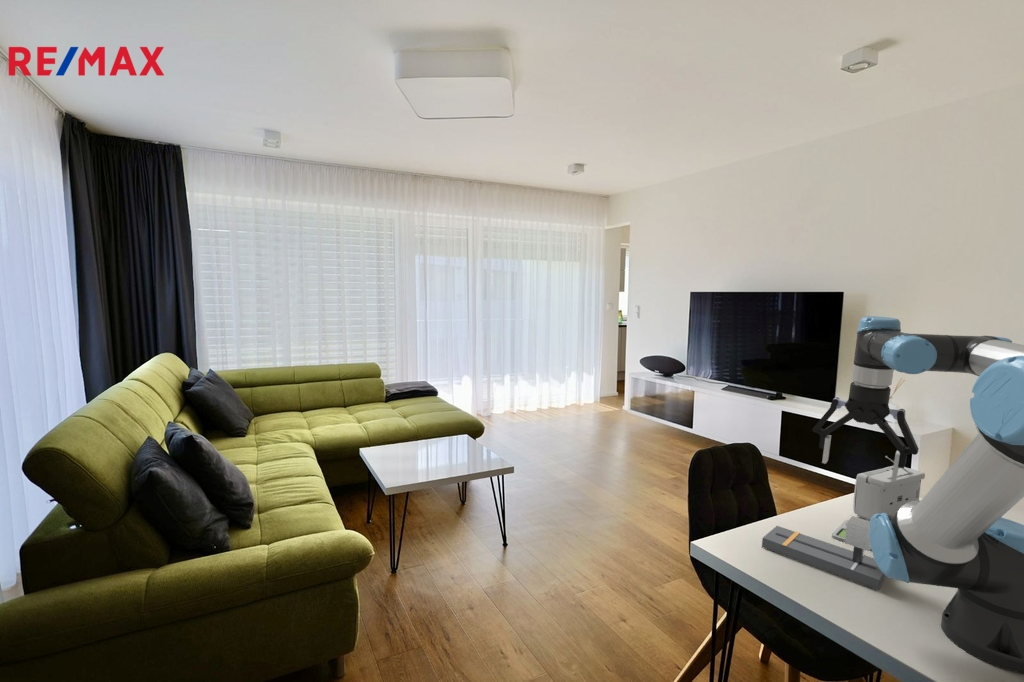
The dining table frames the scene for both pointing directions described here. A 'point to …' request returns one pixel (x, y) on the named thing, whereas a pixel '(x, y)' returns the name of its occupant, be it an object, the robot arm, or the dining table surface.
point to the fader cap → (858, 537)
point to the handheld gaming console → (841, 532)
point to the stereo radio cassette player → (885, 491)
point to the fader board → (824, 556)
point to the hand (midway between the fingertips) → (858, 470)
